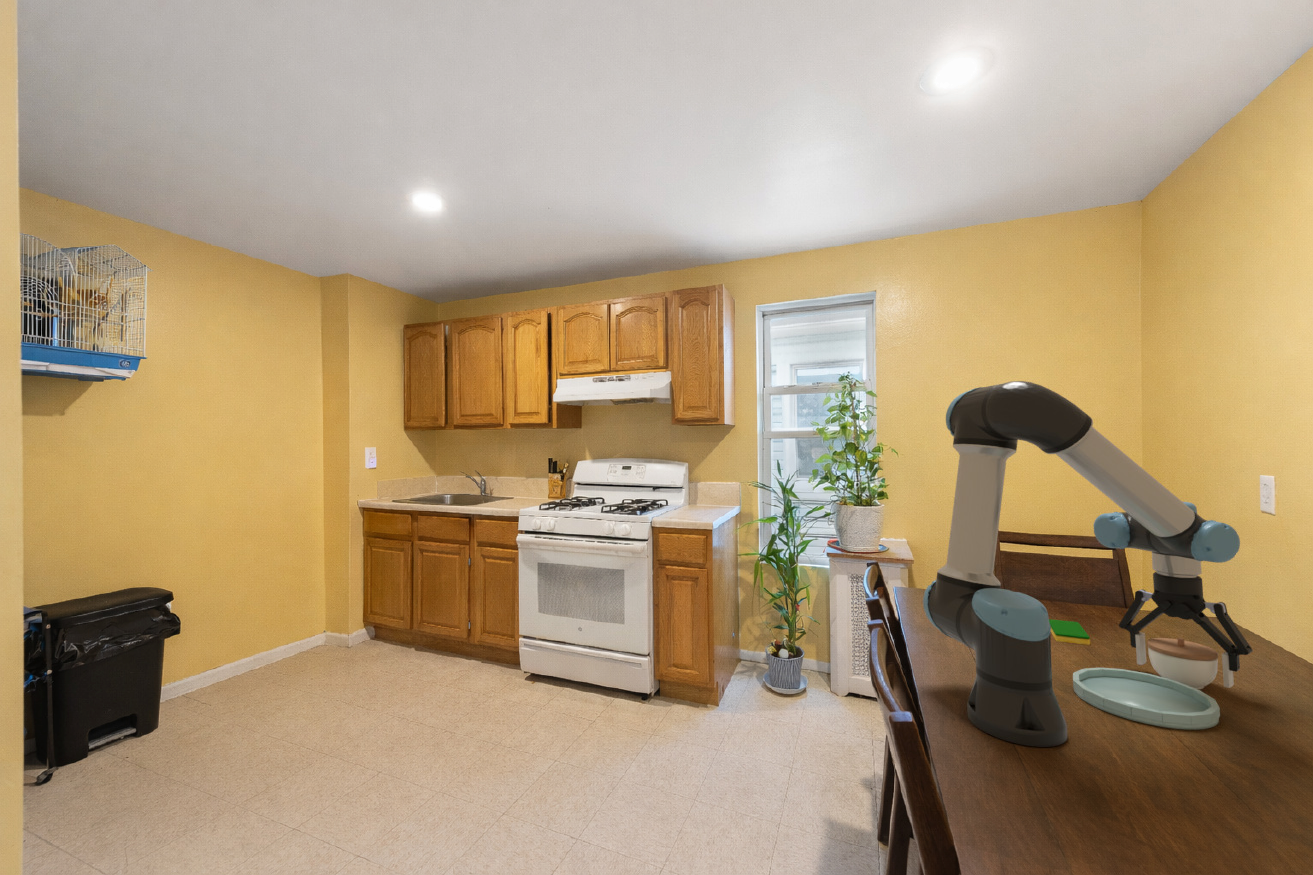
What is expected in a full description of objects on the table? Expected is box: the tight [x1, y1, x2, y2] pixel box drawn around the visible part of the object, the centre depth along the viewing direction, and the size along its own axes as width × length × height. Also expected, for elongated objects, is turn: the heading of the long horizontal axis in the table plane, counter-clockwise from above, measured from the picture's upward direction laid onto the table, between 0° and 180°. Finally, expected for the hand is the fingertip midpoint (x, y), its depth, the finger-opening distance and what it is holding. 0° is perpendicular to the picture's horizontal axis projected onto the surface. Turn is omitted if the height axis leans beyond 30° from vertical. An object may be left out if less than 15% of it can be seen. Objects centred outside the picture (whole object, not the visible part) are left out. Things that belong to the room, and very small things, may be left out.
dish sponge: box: [1049, 618, 1091, 646], centre depth 142 cm, size 7×14×2 cm, turn 151°
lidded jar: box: [1146, 637, 1219, 690], centre depth 112 cm, size 11×11×9 cm
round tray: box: [1072, 667, 1221, 731], centre depth 104 cm, size 21×21×2 cm
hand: (1183, 674), depth 112 cm, fingers open, 13 cm apart
